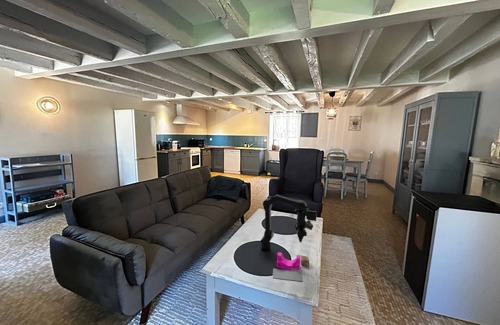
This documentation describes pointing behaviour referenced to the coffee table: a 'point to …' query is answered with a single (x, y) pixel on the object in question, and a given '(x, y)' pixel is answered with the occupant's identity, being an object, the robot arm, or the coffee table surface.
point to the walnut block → (304, 261)
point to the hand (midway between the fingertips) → (299, 239)
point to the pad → (287, 275)
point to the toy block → (287, 262)
